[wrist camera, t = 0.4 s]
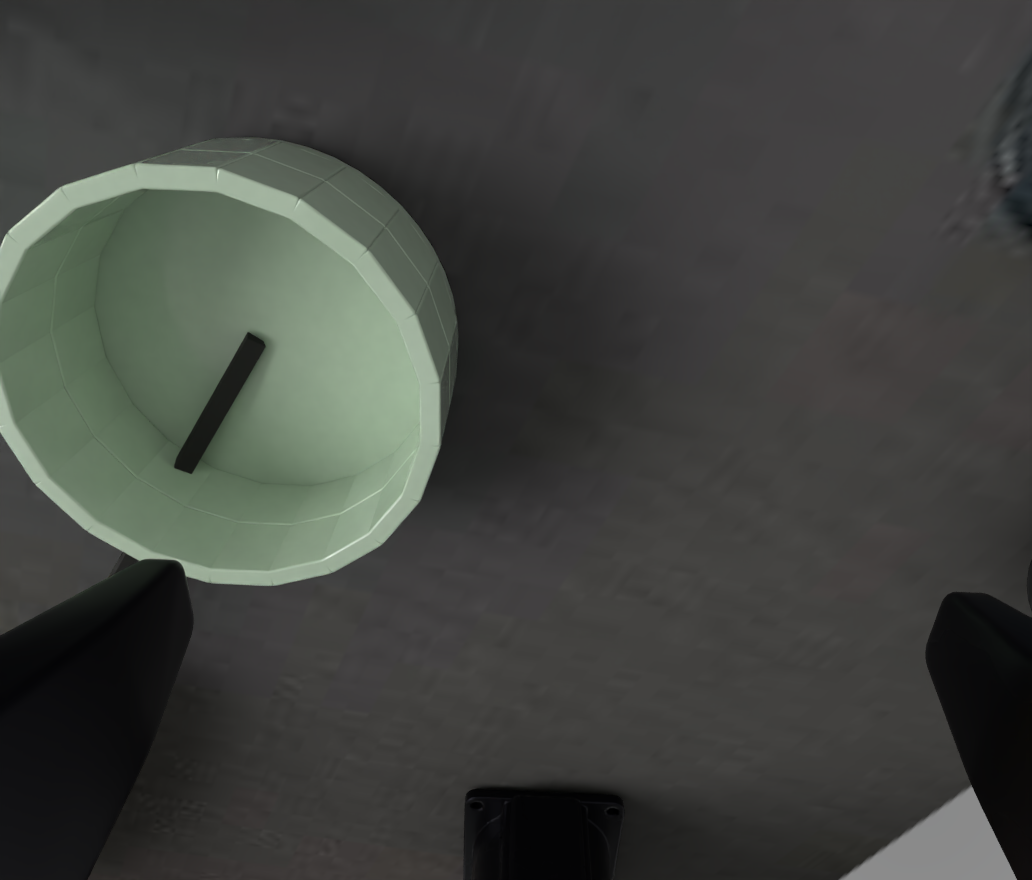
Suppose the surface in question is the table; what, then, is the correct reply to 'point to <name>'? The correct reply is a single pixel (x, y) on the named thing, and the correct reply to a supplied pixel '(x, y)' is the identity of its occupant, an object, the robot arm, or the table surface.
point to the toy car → (1029, 585)
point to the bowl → (228, 358)
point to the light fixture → (212, 415)
